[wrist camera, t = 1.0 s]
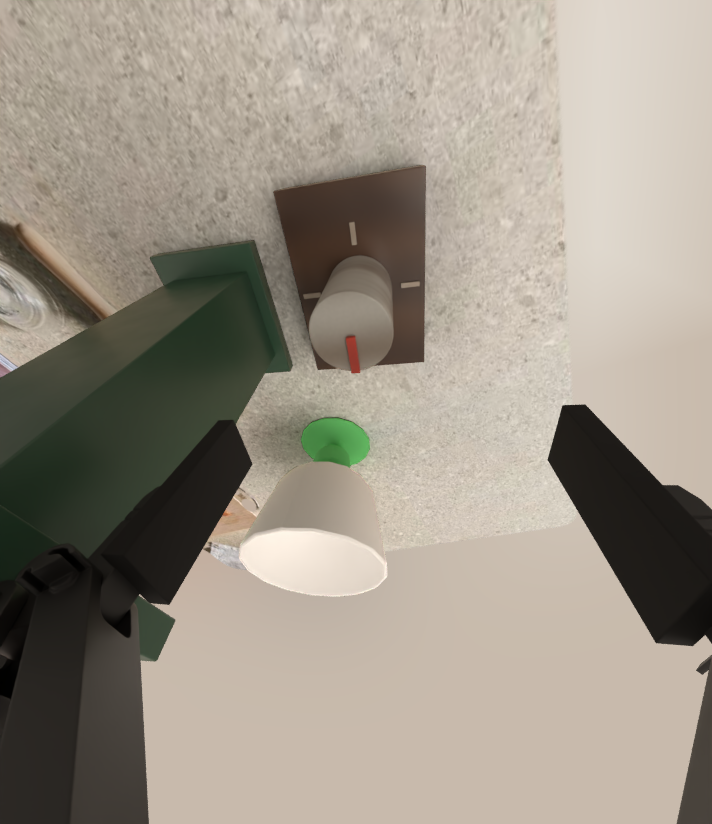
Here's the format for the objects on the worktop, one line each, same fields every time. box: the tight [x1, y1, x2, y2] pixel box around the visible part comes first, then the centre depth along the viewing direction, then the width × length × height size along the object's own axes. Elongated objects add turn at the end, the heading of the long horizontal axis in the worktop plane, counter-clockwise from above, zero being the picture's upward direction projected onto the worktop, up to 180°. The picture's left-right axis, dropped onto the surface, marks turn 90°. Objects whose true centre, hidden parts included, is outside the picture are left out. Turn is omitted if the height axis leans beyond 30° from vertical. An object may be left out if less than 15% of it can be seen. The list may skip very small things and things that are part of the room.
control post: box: [0, 240, 293, 669], centre depth 19 cm, size 12×9×26 cm
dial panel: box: [274, 165, 426, 370], centre depth 25 cm, size 14×10×3 cm
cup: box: [239, 418, 387, 597], centre depth 33 cm, size 14×14×16 cm
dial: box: [309, 255, 394, 373], centre depth 21 cm, size 5×5×8 cm
